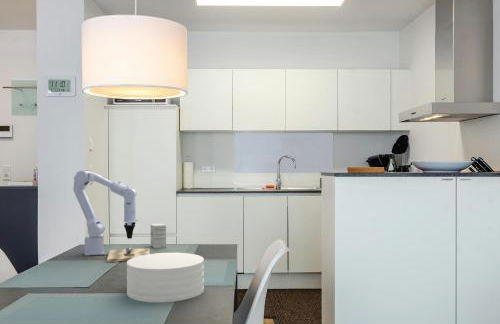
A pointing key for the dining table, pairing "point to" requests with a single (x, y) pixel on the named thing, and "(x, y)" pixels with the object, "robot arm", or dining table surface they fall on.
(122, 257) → the birch board
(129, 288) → the plate stack
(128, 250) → the steel ball
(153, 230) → the supplement box
